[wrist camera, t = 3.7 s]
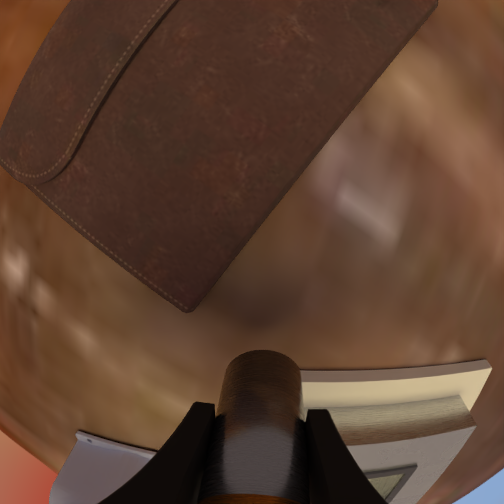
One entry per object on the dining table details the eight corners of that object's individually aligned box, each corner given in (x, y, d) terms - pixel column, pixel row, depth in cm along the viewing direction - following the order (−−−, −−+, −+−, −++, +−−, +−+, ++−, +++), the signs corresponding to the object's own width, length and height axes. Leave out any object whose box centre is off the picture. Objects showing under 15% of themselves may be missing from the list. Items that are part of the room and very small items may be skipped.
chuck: (266, 495, 20) (264, 526, 17) (279, 406, 16) (279, 450, 13) (401, 486, 19) (408, 513, 16) (459, 394, 16) (478, 427, 13)
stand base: (243, 494, 22) (242, 502, 21) (246, 367, 17) (244, 379, 16) (409, 484, 21) (412, 492, 20) (485, 359, 16) (492, 367, 15)
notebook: (429, 12, 10) (446, -1, 8) (198, 302, 16) (188, 321, 14) (200, -105, 8) (193, -123, 6) (9, 150, 14) (-13, 153, 12)
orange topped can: (225, 402, 12) (190, 577, 5) (224, 346, 11) (172, 556, 4) (296, 406, 12) (301, 585, 5) (305, 351, 11) (324, 565, 4)
